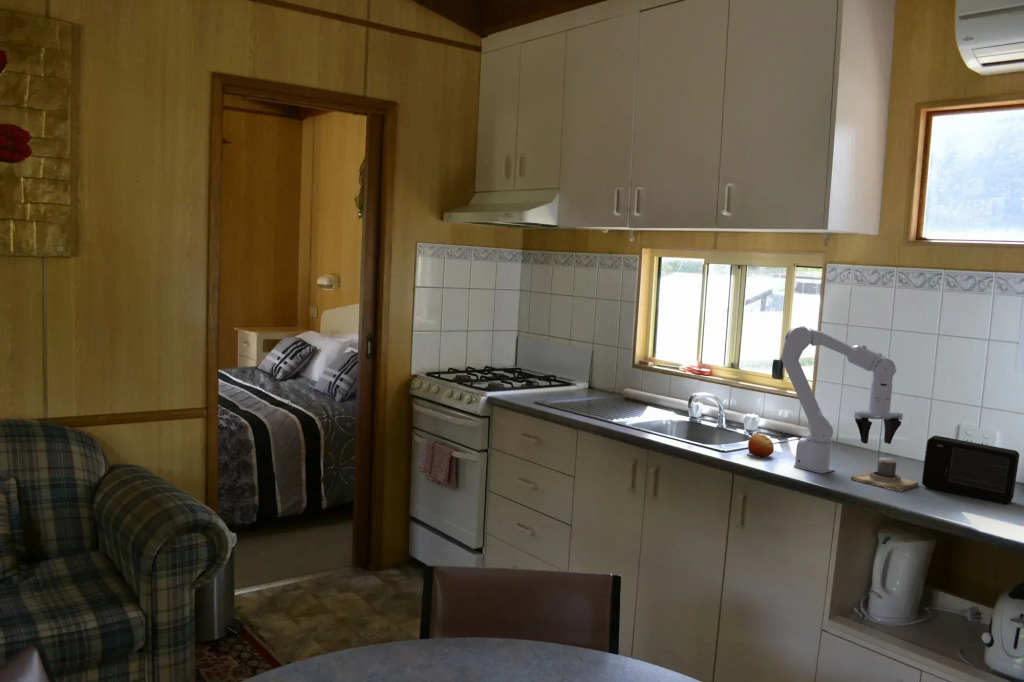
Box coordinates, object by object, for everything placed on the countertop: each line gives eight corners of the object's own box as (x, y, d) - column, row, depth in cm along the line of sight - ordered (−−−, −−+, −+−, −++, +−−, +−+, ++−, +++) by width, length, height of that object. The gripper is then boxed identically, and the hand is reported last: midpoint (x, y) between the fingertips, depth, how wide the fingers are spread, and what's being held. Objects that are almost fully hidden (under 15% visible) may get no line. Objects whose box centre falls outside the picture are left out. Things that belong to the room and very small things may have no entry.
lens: (881, 481, 241) (883, 461, 240) (872, 476, 246) (874, 456, 246) (897, 482, 241) (899, 461, 241) (888, 477, 246) (890, 457, 246)
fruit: (750, 446, 276) (763, 428, 273) (768, 463, 272) (781, 445, 268) (737, 449, 271) (750, 431, 267) (755, 466, 266) (769, 448, 263)
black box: (1017, 500, 233) (1023, 446, 232) (1010, 507, 226) (1016, 451, 224) (929, 482, 248) (934, 432, 246) (919, 488, 240) (925, 436, 239)
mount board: (850, 479, 245) (851, 471, 245) (870, 474, 253) (871, 466, 253) (898, 491, 235) (899, 483, 235) (918, 485, 243) (918, 477, 242)
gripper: (866, 399, 244) (861, 445, 246) (911, 400, 247) (906, 446, 248) (852, 395, 251) (847, 440, 252) (895, 396, 254) (891, 441, 255)
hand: (875, 443), depth 251 cm, fingers open, 7 cm apart
